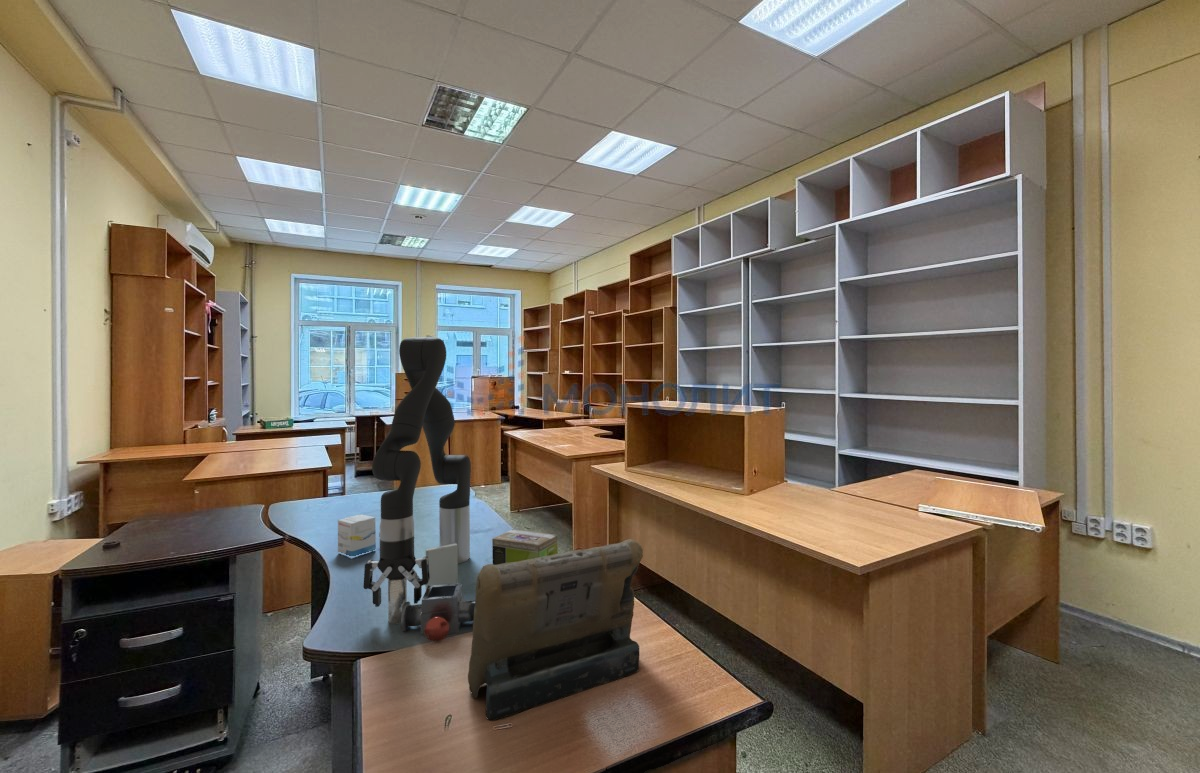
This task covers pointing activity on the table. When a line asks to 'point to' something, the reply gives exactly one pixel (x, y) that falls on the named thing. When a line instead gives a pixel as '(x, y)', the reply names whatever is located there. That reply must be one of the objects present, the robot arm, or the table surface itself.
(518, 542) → the tea box
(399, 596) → the pipe stub
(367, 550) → the ink box
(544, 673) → the tablet
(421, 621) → the valve body
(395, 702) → the table surface
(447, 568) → the external hard drive
